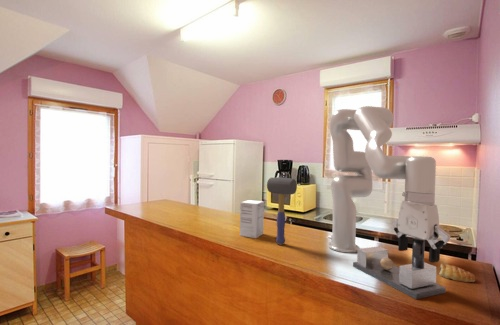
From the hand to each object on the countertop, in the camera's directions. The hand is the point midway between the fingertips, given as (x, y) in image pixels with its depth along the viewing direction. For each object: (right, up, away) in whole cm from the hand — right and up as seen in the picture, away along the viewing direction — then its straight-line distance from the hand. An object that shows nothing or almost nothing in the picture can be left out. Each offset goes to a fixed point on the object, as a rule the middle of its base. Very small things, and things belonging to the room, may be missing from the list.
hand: (417, 255), depth 79 cm
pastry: (+18, -11, +9) cm, 23 cm away
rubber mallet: (-36, -9, +41) cm, 55 cm away
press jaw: (0, -8, 0) cm, 8 cm away
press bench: (-3, -10, +7) cm, 12 cm away
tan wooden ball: (-4, -6, +10) cm, 12 cm away
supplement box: (-49, -9, +55) cm, 74 cm away
